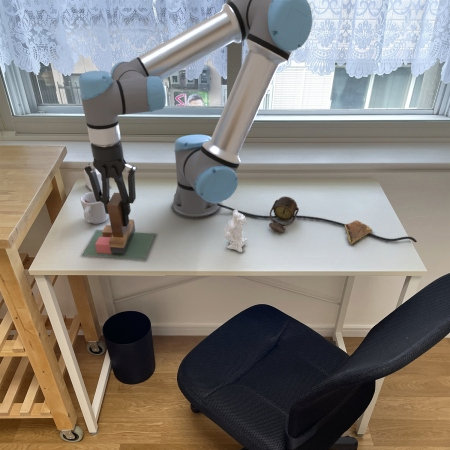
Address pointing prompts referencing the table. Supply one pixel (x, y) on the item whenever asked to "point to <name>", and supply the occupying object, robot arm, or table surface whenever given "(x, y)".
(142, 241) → the desk mat
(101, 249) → the eraser block
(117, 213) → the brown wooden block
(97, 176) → the white cube
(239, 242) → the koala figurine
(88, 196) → the cup
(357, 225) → the shard
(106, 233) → the cork block
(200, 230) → the table surface
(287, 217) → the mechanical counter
